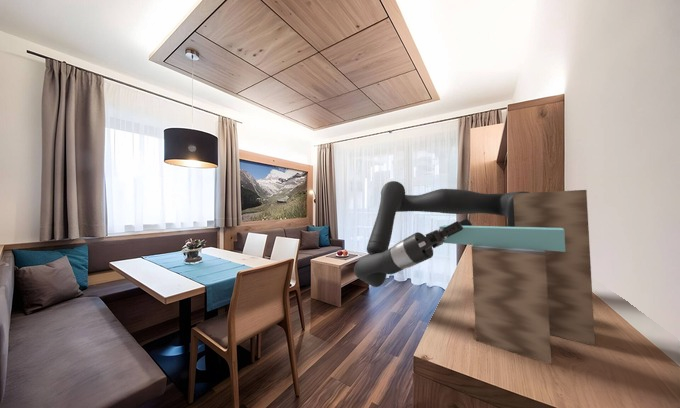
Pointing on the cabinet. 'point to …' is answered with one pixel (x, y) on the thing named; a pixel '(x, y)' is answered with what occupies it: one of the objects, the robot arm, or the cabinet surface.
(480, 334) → the brown wooden block
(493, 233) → the batten
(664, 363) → the cabinet surface
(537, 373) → the cabinet surface
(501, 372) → the cabinet surface
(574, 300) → the stand
